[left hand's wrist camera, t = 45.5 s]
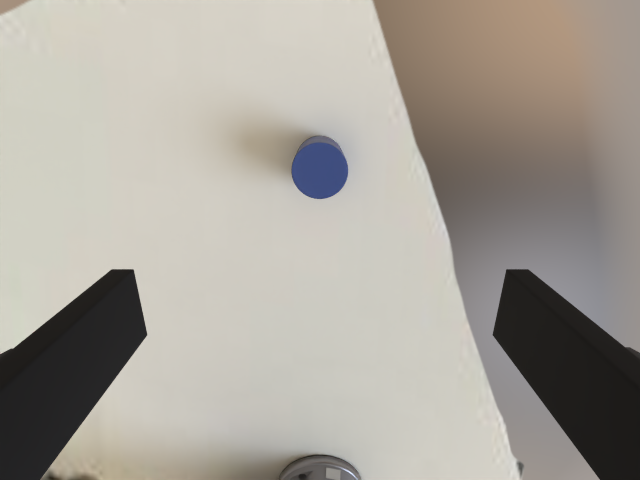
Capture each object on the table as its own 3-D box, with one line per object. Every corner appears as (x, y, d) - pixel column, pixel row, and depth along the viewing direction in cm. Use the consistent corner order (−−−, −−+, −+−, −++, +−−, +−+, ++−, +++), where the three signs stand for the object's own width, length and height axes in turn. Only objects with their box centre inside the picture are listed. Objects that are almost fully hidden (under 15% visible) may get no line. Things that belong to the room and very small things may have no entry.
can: (300, 131, 43) (297, 136, 36) (348, 141, 43) (353, 148, 36) (292, 178, 45) (287, 193, 38) (337, 188, 45) (341, 203, 38)
